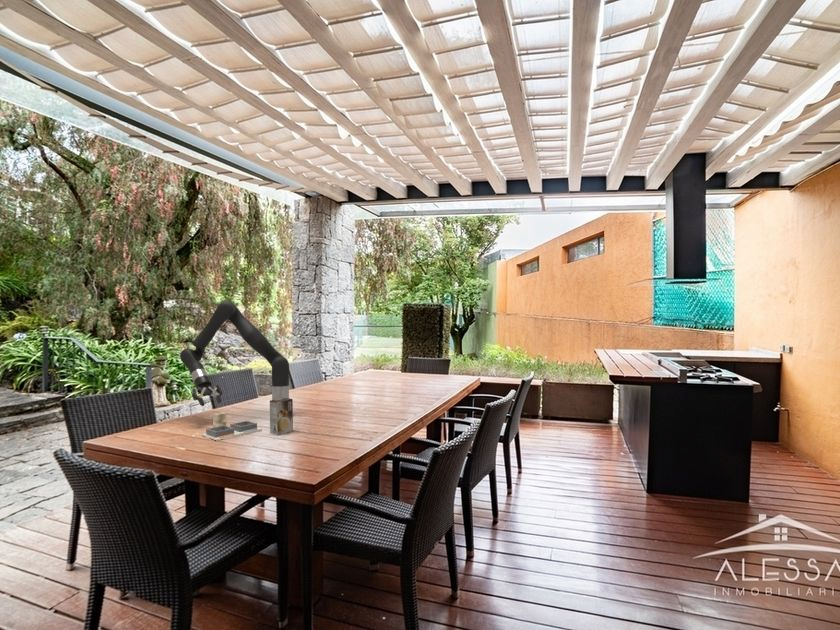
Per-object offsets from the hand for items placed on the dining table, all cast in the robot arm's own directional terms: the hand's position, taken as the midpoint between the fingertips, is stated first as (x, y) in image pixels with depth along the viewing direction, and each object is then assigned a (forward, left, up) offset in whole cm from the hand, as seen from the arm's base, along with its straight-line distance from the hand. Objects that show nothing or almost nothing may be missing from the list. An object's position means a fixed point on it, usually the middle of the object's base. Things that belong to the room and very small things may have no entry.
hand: (211, 403), depth 230 cm
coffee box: (-16, +37, -12) cm, 42 cm away
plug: (0, +8, -12) cm, 14 cm away
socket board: (0, +20, -12) cm, 23 cm away
